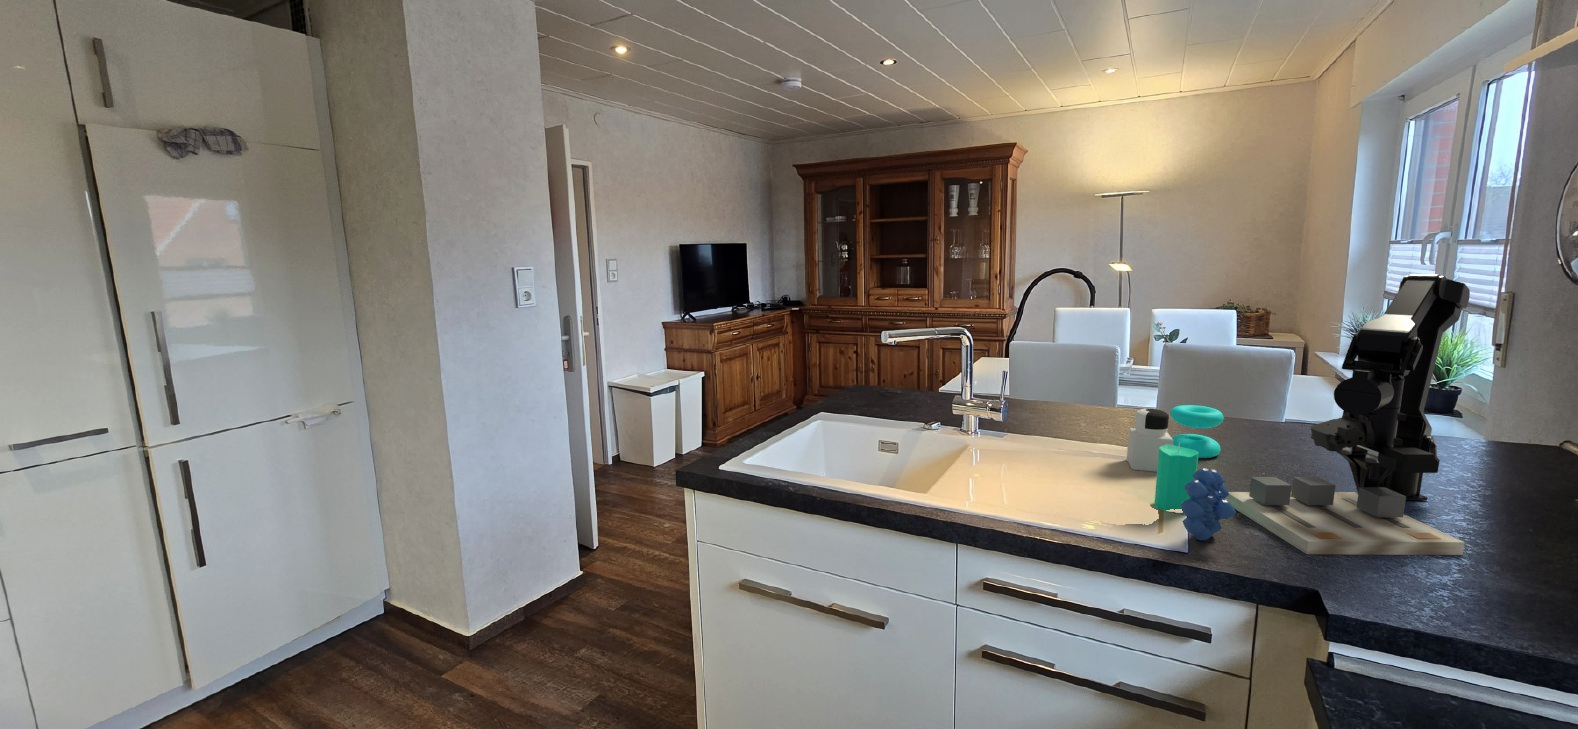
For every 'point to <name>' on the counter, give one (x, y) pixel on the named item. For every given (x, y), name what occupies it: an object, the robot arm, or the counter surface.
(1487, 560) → the counter surface
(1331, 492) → the tab middle
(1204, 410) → the donuts
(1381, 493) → the grey boxy piece
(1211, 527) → the grapes
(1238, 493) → the switch panel
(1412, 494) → the robot arm
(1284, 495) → the tab far
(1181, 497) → the candle
